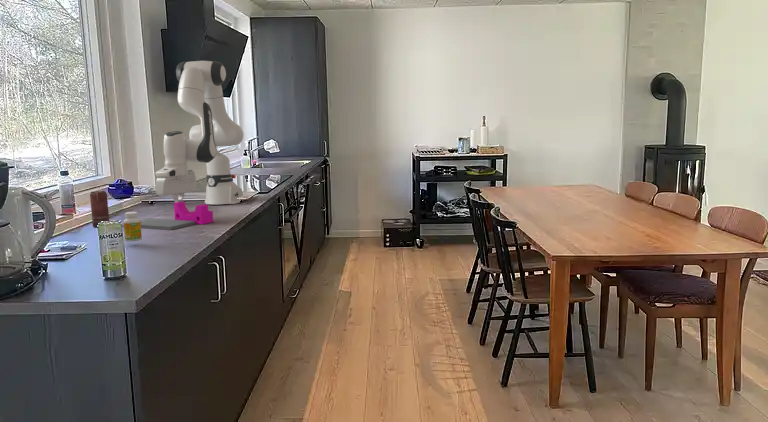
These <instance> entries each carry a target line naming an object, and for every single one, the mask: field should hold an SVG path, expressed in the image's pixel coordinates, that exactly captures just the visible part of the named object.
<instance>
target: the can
mask: <svg viewBox="0 0 768 422" xmlns="http://www.w3.org/2000/svg"><path fill="white" fill-rule="evenodd" d="M89 200H90V210H91V222H92V226H93V228H98V227H97V225H98V223H99V222H101V221H109V222H110V214H109V202H108V201H109V200H108V193H107V192H106V191H105V190H98V191H90V194H89Z"/></svg>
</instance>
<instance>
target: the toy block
mask: <svg viewBox="0 0 768 422" xmlns="http://www.w3.org/2000/svg"><path fill="white" fill-rule="evenodd" d="M173 208H174V220H186V221H196V224H197V225H205V224H209V223H210V224H211V223H212V222H213V223H214V213H213V212H214V211H213V210H209V204H205V203H201V204H197V205H196V204H195V209H194V210H193V211H189V209H188V208H187V206H186V202H185V201H183V202H176V203H175V202H173ZM196 224H195V225H196Z"/></svg>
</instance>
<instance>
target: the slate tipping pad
mask: <svg viewBox="0 0 768 422" xmlns="http://www.w3.org/2000/svg"><path fill="white" fill-rule="evenodd" d="M140 222H141V229H150V230H151V229H152V230H166V231H167V230H168V231H173V230H176V229H181V228H185V227H188V226H189V227H190V226H193V225H196V221H186V220H175V219H169V218H168V219H167V218H153V217H149V218H145V219H140Z"/></svg>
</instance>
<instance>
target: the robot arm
mask: <svg viewBox="0 0 768 422" xmlns="http://www.w3.org/2000/svg"><path fill="white" fill-rule="evenodd" d="M175 74H176V75H175V77H176V80H177V81H178V82H179V83H178V90H177V102H178V105H179V107H180V108H181V109H182V111H185V112H186V113H188V114H190V115H193V116H196V117H198V118H199V119H200V124H196V125H193V126H191V128H190V129H189V135H188V137H189V138H187V137H185V133H184V132H183V131H180V130H175V131H168V132H166V133H165V134H164V136H163V155H164V157H165V158H164V166H163V167H162V168H160V169H159V170H157V171H155V177H157V178H156V180H155V188H156V189H155V190H156V194H157V195H158V196H160V197H163V196H171V197H172V200H174V203H176V202H184V201H183V200H184V198H185V193H191V192H196V191H197V190H198V182H197V177H196V173H195V171H194V170H193V169H188V163H205V165H206V175H205V176H206V177H205V179H206V183H207V184H206V187H205V200H204V204H206V205H231V204H233V205H235V204H239V203H241V202H240V201H241V200H237V198H239V197H241V196H243V197H244V195H243V189H242V188H241V186H239V185H238V184H237V183H235V181H234V179H236V178H237V175H236V174H231V163H230V159H229V157H228V156H227V155H226V154H224V153H222V152H220V151H218V148H217V147H234V146H237V145H240V144H241V143H242V141H243V140H244V131H243V128H242V127H241V126H240V125H239V124H237V123H236V122H234V120H232V118H231V117H230V116H229V115H228V112H227V109H226V105H225V99H224V92H223V88H222V84H224V82H225V81H226V77H227V71H226V67H225V66H224V64H223V63H222V62H220V61H216V60H211V61H210V60H195V61H193V60H192V61H187V60H186V61H182V62H179V63H178V64H177V65H176V68H175ZM213 122H214V123H213Z"/></svg>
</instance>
